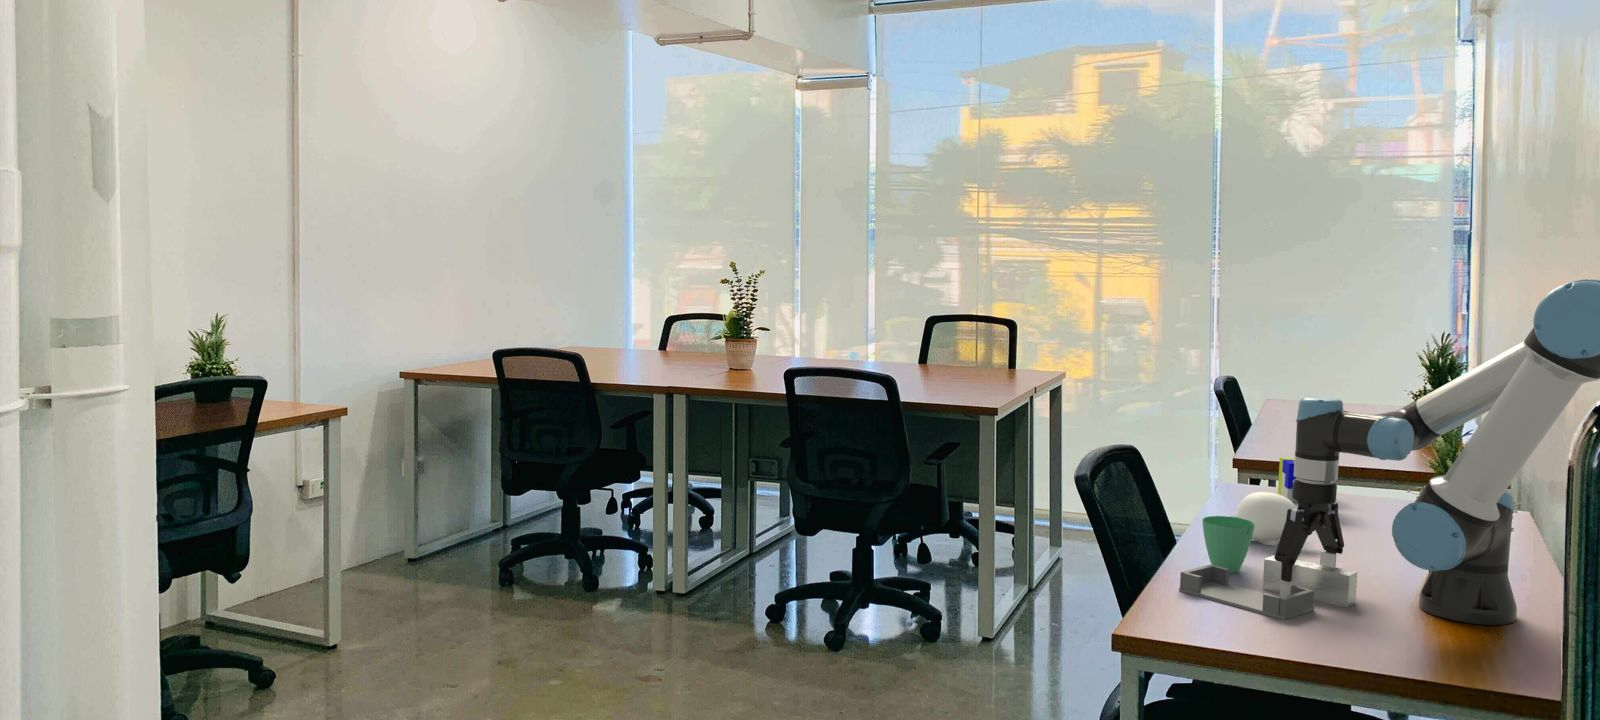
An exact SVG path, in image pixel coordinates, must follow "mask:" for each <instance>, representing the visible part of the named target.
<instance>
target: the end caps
mask: <svg viewBox="0 0 1600 720" xmlns="http://www.w3.org/2000/svg"><path fill="white" fill-rule="evenodd" d="M1179 576H1180V578H1179V581H1180V582H1179V588H1178V591H1179V592H1181V593H1185V594H1188V595H1193V596H1195V597H1199V598H1202V599H1207V600H1211V601H1213V602H1217V603H1221V604H1224V605H1228V606H1232V607H1236V608H1239V609H1243V610H1246V611H1249V612H1252V613H1257V614H1261V615H1263V616H1264V615H1265V616H1267V617H1270V618H1275V619H1277V620H1278V619H1279V620H1282V621H1284V620H1288V619H1292V618H1295V617H1297V616H1300V615H1304V614H1306V613H1310V612H1312V611H1314V610H1315V607H1314V601H1315V600H1314V591H1313V590H1310V589H1307V588H1303V587H1299V586H1295V585H1293V586H1291V593H1290V595H1289V596H1286V597H1280V595H1274V594H1270V593H1267V592H1266V593H1262V592H1259V591H1255V590H1251V589H1247V588H1243V587H1240V586H1236V585H1232V584H1230V582H1229V581H1230V574H1229V569H1227V568H1223V567H1219V566H1214V565H1211V564H1206V565H1204V566H1199V567H1195V568H1192V569H1187V570H1183V571H1180V575H1179Z"/></svg>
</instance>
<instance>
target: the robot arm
mask: <svg viewBox="0 0 1600 720" xmlns="http://www.w3.org/2000/svg"><path fill="white" fill-rule="evenodd" d="M1599 380H1600V279H1579V280H1573V281H1570V282H1568V283H1565V284H1562V285H1559V286H1558V287H1557V286H1556V288H1554V289H1552V290H1551V291H1549V292H1548V293H1547V294H1546V295H1545V296H1544V297H1542V299H1541V301H1540V302H1539V303H1538V305H1537V307H1536V309H1535V311H1534V315H1533V327H1532V329H1531V331H1530V332H1529V333H1528V335H1527V336H1526V338H1525V339H1524V340H1523V341H1522V342H1519V343H1517V344H1516V345H1514V346H1512V347H1511V348H1509V349H1507V350H1505V351H1503V352H1502V353H1501V352H1500V354H1498V355H1496V356H1494V357H1493V358H1491V359H1489V360H1487V361H1485V362H1484V363H1481V364H1480V365H1477V366H1476V367H1474V368H1473V369H1471V370H1469V371H1467V372H1466V373H1464V374H1461V375H1460V376H1458V377H1456V378H1453V380H1451V381H1448V382H1447V383H1446V384H1443V385H1442V386H1439V387H1438V388H1436V389H1434V390H1433V391H1431V392H1428V393H1426V395H1423V396H1422V397H1419V398H1418V399H1417V400H1415V401H1413V402H1410V403H1409V404H1407V405H1405V406H1404V407H1401V408H1400V409H1397V410H1394V411H1389V412H1383V413H1377V414H1371V413H1369V414H1368V413H1361V412H1360V413H1358V412H1352V411H1351V412H1350V411H1348V410H1344V403H1343V401H1342V400H1341V399H1340V398H1335V397H1331V396H1330V397H1329V396H1317V395H1316V396H1311V395H1310V396H1304V397H1302V398H1301V399H1300V400H1299V402H1298V409H1297V416H1296V419H1295V422H1296V430H1295V431H1296V433H1295V450H1294V458H1295V459H1294V460H1293V463H1294V476H1295V477H1296V478H1297V479H1294V480H1293V486H1292V498H1293V499H1294V500H1297V501H1298V502H1297V503H1298V504H1297V505H1298V506H1297V507H1296V509H1297V510H1295V509H1290V508H1289V509H1288V510H1287V517H1286V522H1285V525H1284V529H1283V532H1282V535H1281V538H1280V541H1279V543H1278V544H1277V548H1276V551H1275V553H1274V556H1275V557H1274V558H1275V560H1276V561H1278V562H1281V563H1282V568H1281V583H1280V593H1279V597H1286V596H1289V595H1290V593H1291V586H1293V585H1295V586H1297V572H1298V565H1297V564H1295V562H1296V560H1298V558H1299V556H1300V554H1301V552H1302V549H1303V547H1304V545H1305V543H1306V541H1307V539H1308V537H1309V536H1311V535H1312V534H1313V532H1316V535H1317V537H1318V540H1319V542H1320V544H1321V546H1322V549H1323V550H1321V551H1320V555H1319V556H1320V557H1319V558H1320V560H1319V564H1320V565H1325V566H1330V567H1335V568H1337V567H1336V566H1337V565H1336V564H1337V554H1338V555H1341V554H1343V552H1344V547H1345V541H1344V537H1343V531H1342V528H1341V522H1340V517H1339V504H1338V503H1337V502H1336V501H1337V491H1338V485H1337V484H1336V482H1337V481H1338V478H1339V463H1340V462H1339V460H1340V453H1342V454H1349V455H1357V456H1361V457H1369V458H1375V459H1379V460H1382V461H1386V460H1389V461H1396V462H1397V461H1403V460H1405V459H1407V457H1408V455H1410V454H1411V452H1414V451H1418V450H1421V449H1423V448H1425V447H1428V446H1429V445H1431V444H1432V443H1433V442H1435V440H1436V439H1438V438H1439V437H1441V436H1444V435H1445V434H1446V433H1449V432H1450V431H1453V430H1455V429H1456V428H1458V427H1460V426H1463V425H1464V424H1467V423H1468V422H1470V421H1472V420H1474V419H1476V418H1478V417H1480V416H1481V415H1484V414H1486V413H1487V414H1486V415H1485V416H1484V418H1483V419H1482V420H1481V422H1480V424H1479V425H1478V426H1477V428H1476V429H1475V431H1474V433H1473V434H1472V435H1471V437H1470V439H1469V440H1468V441H1467V443H1466V444H1465V446H1463V447H1464V448H1463V449H1462V450H1461V451H1460V453H1459V454H1458V455H1457V457H1456V458H1455V460H1454V462H1453V463H1452V464H1451V466H1450V467H1449V469H1448V470H1447V472H1446V474H1444V475H1436V476H1432V477H1431V478H1430V479H1429V480H1428V482H1427V483H1426V485H1425V486H1424V487H1423V489H1422V491H1420V494H1418V497H1416V500H1414V502H1411V503H1409V504H1408V503H1407V505H1405V506H1403V507H1402V508H1401V509H1400V510H1399V511H1398V512H1397V514H1396V515H1395V517H1394V519H1393V521H1392V526H1391V534H1392V538H1393V541H1394V545H1395V547H1396V549H1397V550H1398V552H1399V553H1400V555H1401V556H1402V557H1403V558H1404V559H1405V560H1406V561H1407V562H1409V563H1410V564H1411V565H1413V566H1415V567H1417V568H1419V569H1421V570H1425V571H1429V573H1428V575H1427V578H1426V580H1425V582H1424V584H1423V586H1422V588H1421V590H1420V593H1419V602H1418V606H1419V608H1420V609H1421V610H1422V611H1424V612H1426V613H1427V614H1430V615H1433V616H1436V617H1439V618H1443V619H1447V620H1450V621H1454V622H1455V621H1456V622H1459V623H1460V622H1461V623H1465V624H1466V623H1467V624H1472V625H1473V624H1474V625H1486V626H1500V625H1502V626H1503V625H1508V624H1509V625H1510V624H1513V623H1515V622H1516V621H1517V612H1518V607H1517V603H1516V599H1515V596H1514V593H1513V588H1512V586H1511V583H1510V579H1509V578H1510V577H1509V562H1510V550H1511V549H1510V548H1511V540H1512V539H1511V537H1512V527H1513V515H1514V512H1515V509H1514V502H1513V499H1514V498H1513V495H1512V494H1511V493H1510V492H1509V491H1507V490H1508V488H1509V487H1510V485H1511V484H1512V482H1513V481H1514V479H1515V478H1516V476H1517V475H1518V474H1519V472H1520V471H1521V470H1522V468H1523V467H1524V466H1525V465H1526V464H1527V461H1528V460H1529V459H1530V457H1531V456H1532V455H1533V453H1534V451H1536V449H1537V448H1538V447H1539V445H1540V444H1541V442H1542V441H1543V440H1544V438H1545V437H1546V435H1547V434H1548V432H1549V431H1550V429H1551V428H1552V426H1553V425H1554V424H1555V422H1556V421H1557V420H1558V418H1559V417H1560V416H1561V414H1562V412H1564V410H1565V408H1566V407H1567V406H1568V404H1569V403H1570V402H1571V400H1572V399H1573V397H1574V396H1575V395H1576V393H1577V392H1578V391H1579V389H1580V388H1581V386H1582V385H1584V384H1586V383H1589V382H1596V381H1599ZM1293 521H1294V522H1293Z"/></svg>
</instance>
